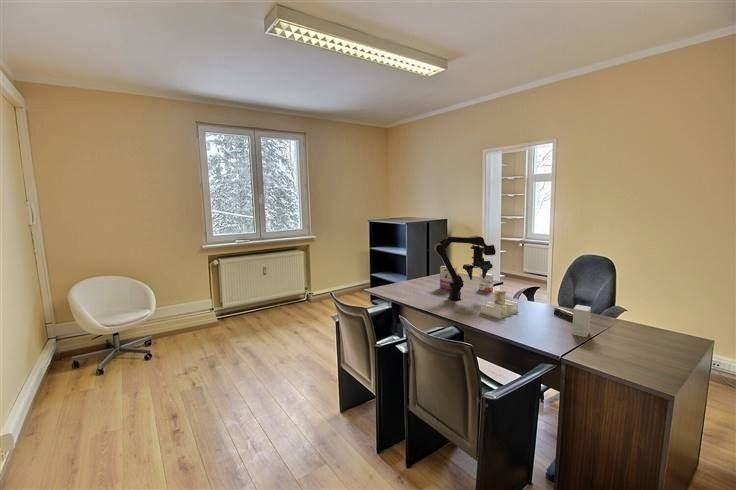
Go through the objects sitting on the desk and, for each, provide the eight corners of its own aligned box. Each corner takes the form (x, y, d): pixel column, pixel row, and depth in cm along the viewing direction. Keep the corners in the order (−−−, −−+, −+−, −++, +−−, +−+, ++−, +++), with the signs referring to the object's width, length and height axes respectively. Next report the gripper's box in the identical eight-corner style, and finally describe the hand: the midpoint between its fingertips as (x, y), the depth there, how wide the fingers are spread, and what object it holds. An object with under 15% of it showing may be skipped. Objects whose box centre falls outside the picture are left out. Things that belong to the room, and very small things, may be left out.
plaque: (493, 310, 202) (494, 290, 200) (496, 309, 204) (497, 289, 202) (501, 312, 198) (502, 292, 196) (504, 311, 200) (505, 291, 198)
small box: (574, 329, 175) (576, 304, 173) (589, 332, 171) (591, 306, 169) (571, 334, 169) (573, 308, 167) (586, 337, 165) (588, 311, 163)
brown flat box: (572, 326, 179) (573, 319, 179) (537, 311, 203) (537, 304, 203) (595, 323, 183) (595, 316, 182) (558, 309, 207) (558, 302, 206)
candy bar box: (456, 289, 249) (457, 267, 247) (452, 291, 246) (453, 268, 243) (443, 287, 257) (443, 265, 255) (439, 288, 254) (439, 266, 251)
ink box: (493, 290, 246) (493, 274, 244) (489, 291, 243) (489, 275, 241) (482, 288, 252) (483, 272, 251) (478, 289, 249) (479, 273, 248)
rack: (479, 312, 201) (480, 303, 200) (498, 306, 211) (498, 297, 211) (500, 319, 190) (500, 309, 190) (518, 312, 201) (518, 302, 200)
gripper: (472, 258, 213) (471, 283, 215) (498, 256, 218) (497, 281, 220) (462, 255, 224) (462, 279, 226) (487, 253, 229) (486, 277, 231)
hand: (477, 279), depth 226 cm, fingers open, 9 cm apart
